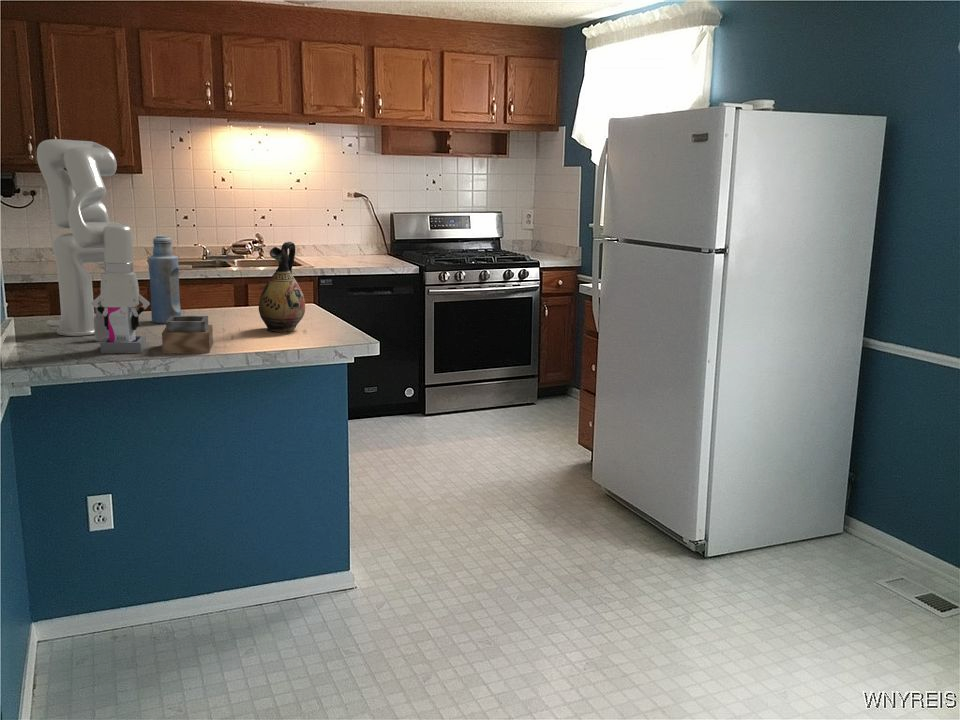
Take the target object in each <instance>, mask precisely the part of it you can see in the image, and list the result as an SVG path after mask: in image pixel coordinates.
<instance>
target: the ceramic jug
mask: <svg viewBox="0 0 960 720" xmlns="http://www.w3.org/2000/svg"><path fill="white" fill-rule="evenodd" d="M296 248H297V247H296V244H295V243H294V242H292V241H286V242H284V243H283V244H282V245H281V248H279V247H277V246H274V247H272V248H271V249H270V251H269V256H270V258H272V259H274V260H275V261H277V262H278V267H277V269H276V270H275V272H274V273H273V274H272V276H271V277H270V278H269V280H268V281H267V283H266V285H265V286H264V287H263V290H262V291H261V293H260V297H259V302H258V314H259V316H260V319H261V320H262V322H263V323H264V325H265V326H266V327H267V328H266V331H268V332H270V331H273V332H272V333H287V332H286V331H290V332H293V331H292V330H294V329H295V330H296V327H297V325H298V324H299V323H300V322H301V320H302V319H303V318H304V316H305V312H306V301H305V297H304V293H303V291H302V289H301V287H300V285H299V283H298V281H297V279H295V277H294V276H293V266H294V262H295V257H296ZM295 330H294V331H295Z"/></svg>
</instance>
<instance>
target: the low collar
mask: <svg viewBox="0 0 960 720" xmlns="http://www.w3.org/2000/svg"><path fill="white" fill-rule="evenodd" d="M99 345H100V347H99V348H100V354H141V353H142V352H143V351H144V349H146V347H147V346H146V345H148V344H147V335H136V341H135V342H109V336H107V337H106V338H105V339H104V340H103V341H100V343H99ZM145 346H146V347H145ZM142 350H143V351H142ZM129 352H130V353H129Z"/></svg>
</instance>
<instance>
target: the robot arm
mask: <svg viewBox="0 0 960 720" xmlns="http://www.w3.org/2000/svg"><path fill="white" fill-rule="evenodd" d="M36 157H37V158H36V159H37V164H38V168H39V170H40V173H41V174H42V177H43V179H44V181H45V183H46V186H47V192H48V198H49V203H50V209H51V215H52V218H53V219H52V220H53V223H54V224H55V226H56V228H59V229H61V230H70V231H71V232H70V233H69V232H68V233H62V234H59V235H57V236H56V237H55V238H53V241H52V251H53V255H54V259H55V263H56V271H57V278H58V281H57V282H58V290H59V291H58V293H59V303H60V317H61V318H60V319H58V320H52V319H51V320H48V319H47V322H46V325H47V327H49V328H54V327H55V328H56V327H57V328H58V329H56V334H57V335H60V336H67V337H81V336H83V337H84V336H91V335H95V330H94V317H95V310H96V309H97V310H98V311H99V312H100V313H101V314H102V315H103V316H104V326H105V327H107V330H109V325H108V308H118V307H122V306H128V308H130V309H131V311H132V312H133V317H132V325H133V330H135V331H136V330H137V328H138V327H140V322H139V321H140V320H139V319H140V317H139V316H140V315H141V314H142V313H143V312H144V311H145V310H146V309H147V308H148V307H149V306H150V305H151V302H150V301H149V300H147V299H146V298H145V297H144V296H142V295H141V294H140V287H139V281H138V277H137V273H136V272H134V255H133V253H134V252H133V234H132V228H131V227H130V226H128V225H123V224H122V223H120V222H115V221H110V218H109V213H108V210H107V207H106V206H105V204H104V203H103V201H102V200H103V199H104V198H105V197H106V195H107V188H106V186H105V183H104V180H103V178H102V177H111V176H113V175H115V174H116V171H117V167H118V165H117V159H116V156H115V155H114V153H113V152H112V151H111V149H109V148H108V147H106V146H104V145H102V144H99V143H98V142H95V141H92V140H91V141H88V140H76V139H75V140H73V139H61V138H59V139H54V138H52V139H51V138H50V139H45V140H42V141H41V142H40V143H39V144H38V146H37V148H36ZM98 263H99V264H98ZM84 264H98V265H99V266H98V267H99V269H102V270H103V271H104V272H102V273H101V278H100V294H99V295H98V296H97V297H96V298H95V299H94V292H93V291H94V290H93V279H92V276H91V274H90V272H89V271H88V270H87V269H86V268H85V266H84ZM99 302H100V305H99ZM140 303H142V305H141V307H139V308H138V306H139V305H140ZM94 308H95V309H94Z"/></svg>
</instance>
